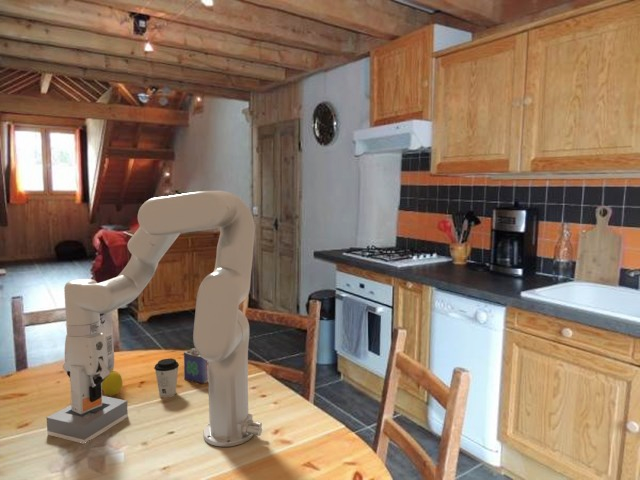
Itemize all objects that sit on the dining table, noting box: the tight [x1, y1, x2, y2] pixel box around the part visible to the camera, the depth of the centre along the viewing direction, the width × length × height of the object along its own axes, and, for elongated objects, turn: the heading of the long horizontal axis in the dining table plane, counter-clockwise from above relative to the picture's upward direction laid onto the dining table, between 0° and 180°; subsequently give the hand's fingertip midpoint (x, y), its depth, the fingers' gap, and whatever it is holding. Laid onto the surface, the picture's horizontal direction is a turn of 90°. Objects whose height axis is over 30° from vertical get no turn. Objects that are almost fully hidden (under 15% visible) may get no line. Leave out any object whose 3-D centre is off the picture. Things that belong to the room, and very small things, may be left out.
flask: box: [183, 347, 208, 385], centre depth 145 cm, size 9×3×11 cm, turn 61°
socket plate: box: [45, 395, 129, 444], centre depth 117 cm, size 12×14×4 cm
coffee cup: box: [153, 357, 180, 398], centre depth 135 cm, size 7×7×10 cm
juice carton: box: [100, 311, 115, 372], centre depth 149 cm, size 9×10×27 cm
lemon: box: [102, 369, 123, 398], centre depth 134 cm, size 6×6×8 cm
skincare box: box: [69, 365, 103, 414], centre depth 116 cm, size 6×4×12 cm
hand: (87, 397), depth 117 cm, fingers closed on skincare box, 4 cm apart
